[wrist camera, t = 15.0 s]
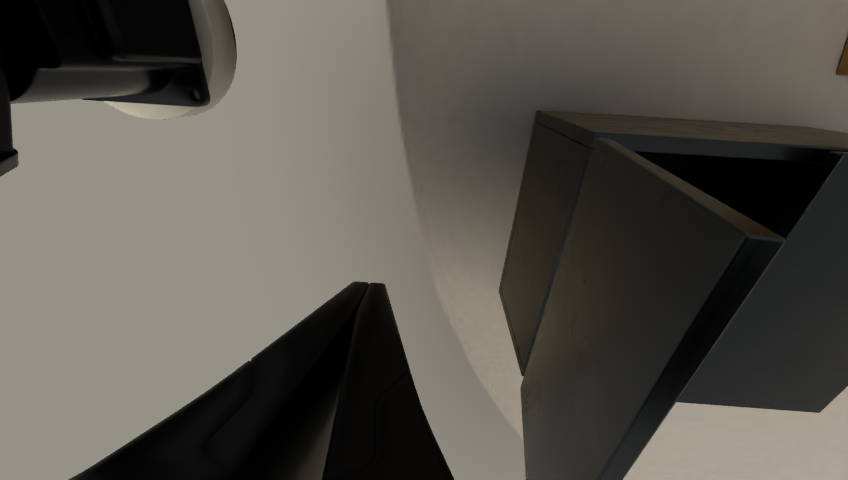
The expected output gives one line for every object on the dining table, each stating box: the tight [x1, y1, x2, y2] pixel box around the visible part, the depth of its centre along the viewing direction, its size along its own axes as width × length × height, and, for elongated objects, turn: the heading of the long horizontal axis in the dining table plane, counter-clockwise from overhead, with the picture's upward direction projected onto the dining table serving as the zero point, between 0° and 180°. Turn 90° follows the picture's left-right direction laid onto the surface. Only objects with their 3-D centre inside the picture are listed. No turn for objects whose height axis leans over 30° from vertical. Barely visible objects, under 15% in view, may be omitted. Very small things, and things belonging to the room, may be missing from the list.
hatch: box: [521, 138, 786, 480], centre depth 9 cm, size 6×11×1 cm
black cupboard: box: [499, 110, 848, 413], centre depth 14 cm, size 13×11×7 cm
